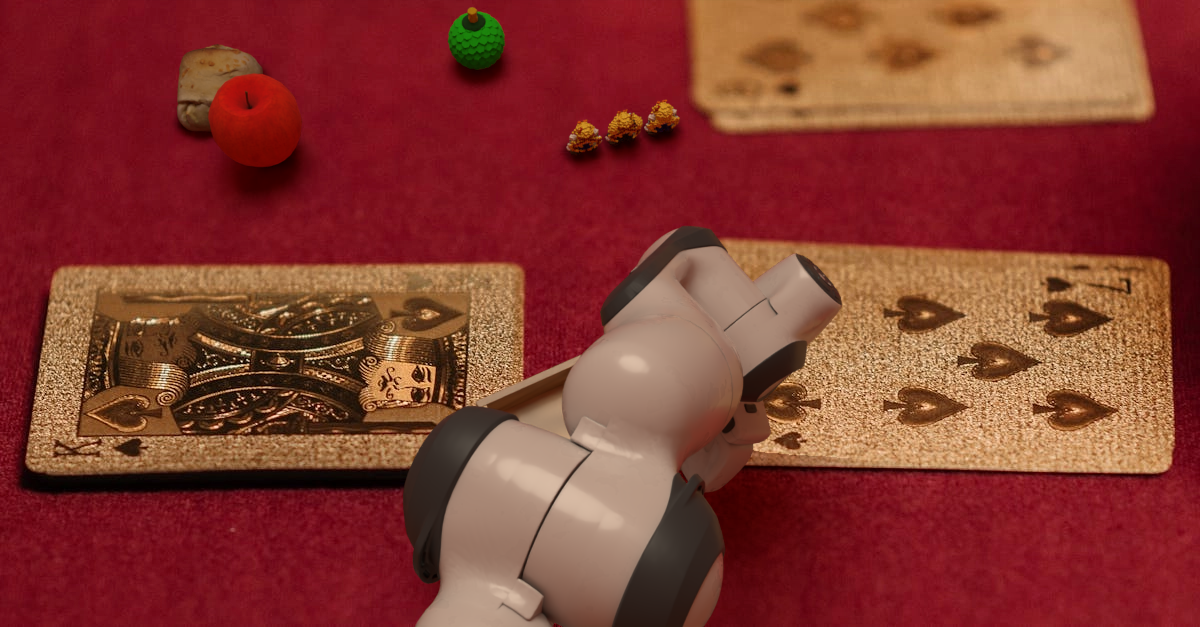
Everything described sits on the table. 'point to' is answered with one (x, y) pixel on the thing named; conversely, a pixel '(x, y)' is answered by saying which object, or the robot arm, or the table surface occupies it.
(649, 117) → the figurine set
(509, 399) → the beige open tray
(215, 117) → the apple
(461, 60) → the ornament
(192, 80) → the pastry
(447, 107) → the table surface
